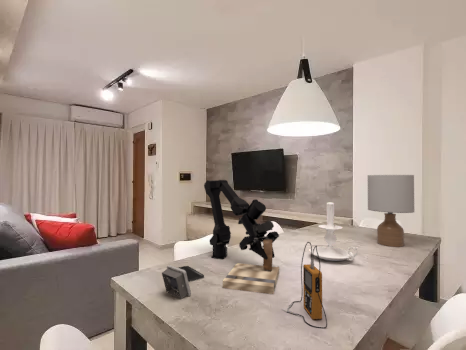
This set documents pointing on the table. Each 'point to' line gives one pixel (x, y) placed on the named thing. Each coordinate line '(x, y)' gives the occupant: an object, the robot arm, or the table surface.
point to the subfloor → (252, 278)
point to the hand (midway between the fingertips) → (270, 258)
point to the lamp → (391, 204)
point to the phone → (192, 273)
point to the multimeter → (311, 290)
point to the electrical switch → (176, 282)
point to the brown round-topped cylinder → (268, 250)
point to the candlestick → (332, 240)
